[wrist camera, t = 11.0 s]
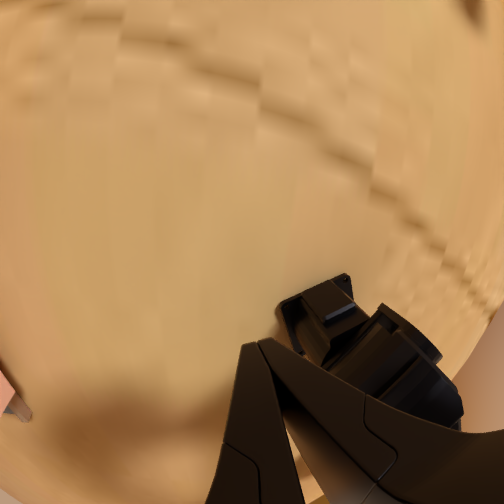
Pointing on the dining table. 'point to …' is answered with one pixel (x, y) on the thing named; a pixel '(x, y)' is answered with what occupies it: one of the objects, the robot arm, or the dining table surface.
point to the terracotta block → (5, 393)
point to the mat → (18, 408)
